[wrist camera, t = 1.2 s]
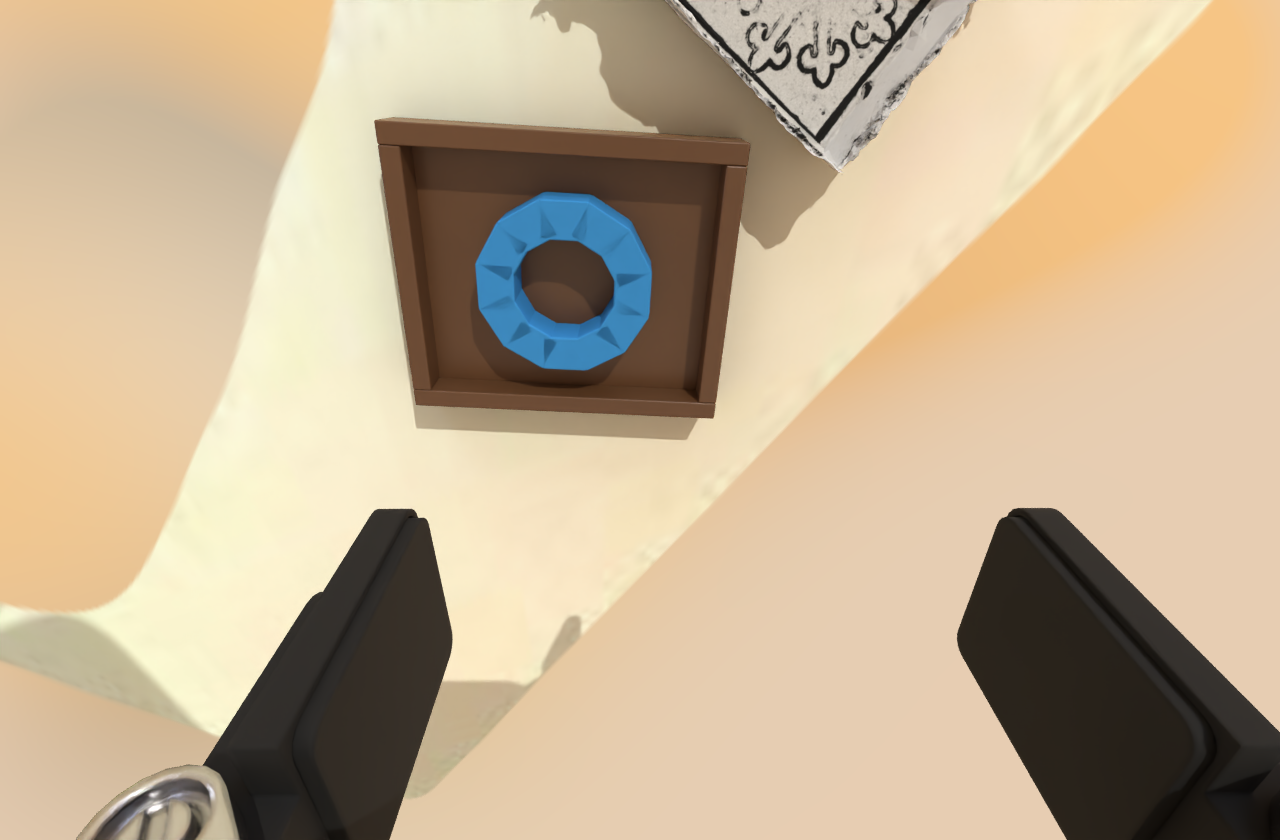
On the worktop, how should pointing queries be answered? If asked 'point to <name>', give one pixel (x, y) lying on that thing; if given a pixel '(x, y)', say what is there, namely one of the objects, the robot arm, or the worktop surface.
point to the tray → (562, 260)
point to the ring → (533, 330)
